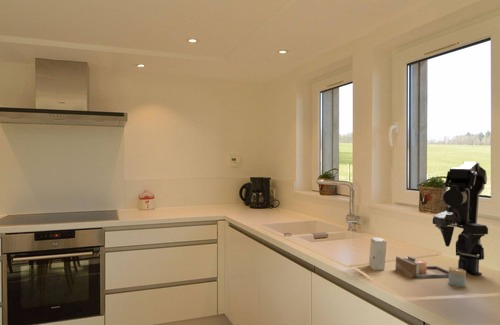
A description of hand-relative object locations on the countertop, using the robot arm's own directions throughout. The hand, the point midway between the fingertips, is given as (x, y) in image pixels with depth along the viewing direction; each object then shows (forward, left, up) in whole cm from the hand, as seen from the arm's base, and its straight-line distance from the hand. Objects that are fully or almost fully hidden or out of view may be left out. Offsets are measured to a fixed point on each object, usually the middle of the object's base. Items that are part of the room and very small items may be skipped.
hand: (457, 249), depth 121 cm
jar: (+6, -12, -12) cm, 18 cm away
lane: (+3, -12, -13) cm, 18 cm away
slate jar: (0, 0, -13) cm, 13 cm away
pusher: (+9, -12, -12) cm, 19 cm away
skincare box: (+18, -20, -13) cm, 30 cm away
